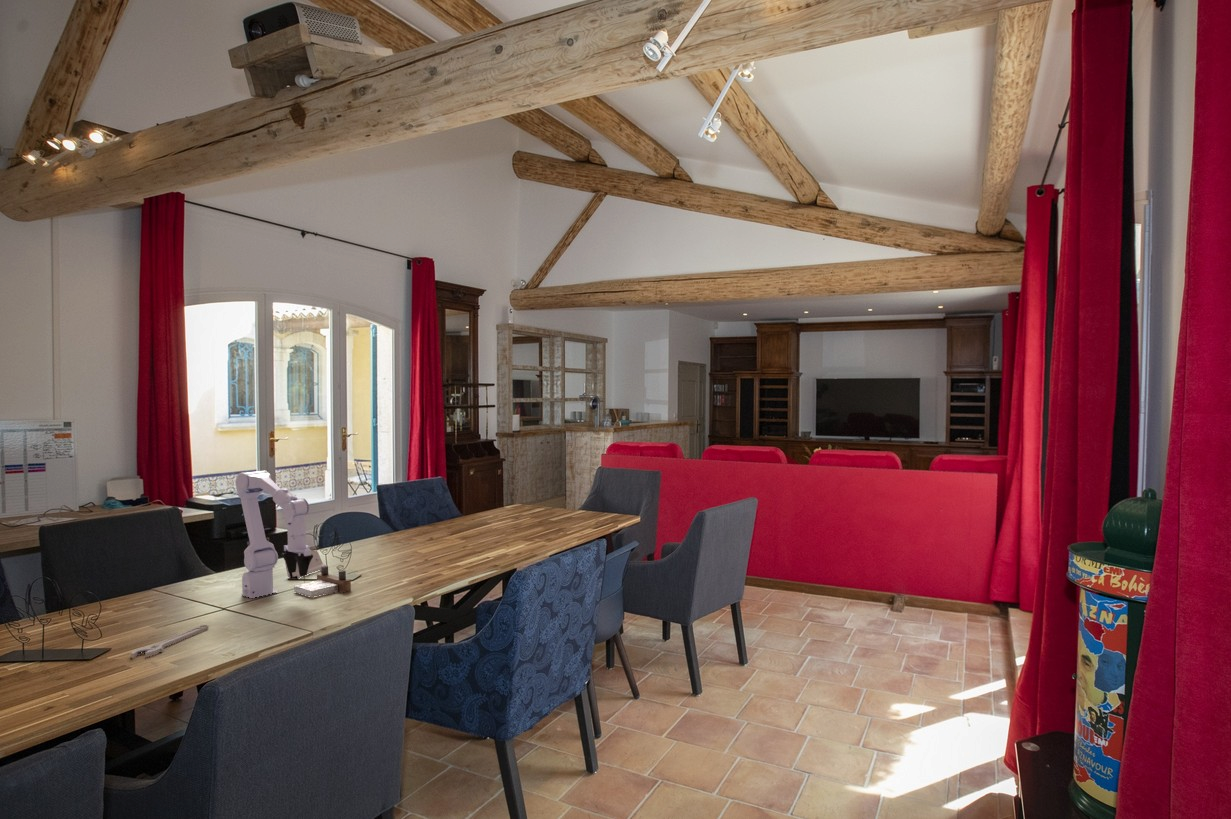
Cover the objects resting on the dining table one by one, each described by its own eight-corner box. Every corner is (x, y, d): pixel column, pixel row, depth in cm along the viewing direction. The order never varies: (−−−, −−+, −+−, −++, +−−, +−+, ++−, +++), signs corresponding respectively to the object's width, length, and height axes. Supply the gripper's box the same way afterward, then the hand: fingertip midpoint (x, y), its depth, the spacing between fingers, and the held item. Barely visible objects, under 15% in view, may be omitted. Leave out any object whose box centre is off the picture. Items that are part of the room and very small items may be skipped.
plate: (311, 599, 246) (311, 591, 246) (294, 594, 254) (294, 585, 253) (338, 593, 254) (337, 584, 254) (320, 587, 261) (320, 579, 261)
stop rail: (343, 592, 252) (342, 573, 252) (317, 585, 264) (316, 566, 263) (350, 590, 255) (350, 571, 255) (324, 583, 266) (324, 564, 266)
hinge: (298, 579, 273) (290, 554, 274) (289, 582, 274) (281, 558, 275) (327, 568, 289) (320, 545, 290) (318, 572, 290) (311, 549, 291)
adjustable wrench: (203, 629, 215) (203, 623, 215) (220, 631, 214) (220, 625, 214) (126, 658, 191) (126, 652, 191) (145, 660, 190) (145, 653, 190)
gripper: (318, 535, 241) (319, 574, 241) (297, 530, 250) (298, 568, 250) (298, 538, 235) (299, 579, 235) (277, 533, 244) (278, 572, 244)
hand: (297, 574), depth 242 cm, fingers open, 7 cm apart
